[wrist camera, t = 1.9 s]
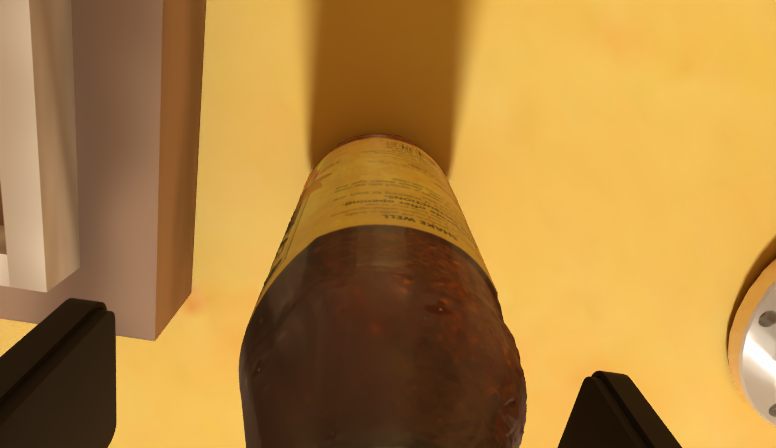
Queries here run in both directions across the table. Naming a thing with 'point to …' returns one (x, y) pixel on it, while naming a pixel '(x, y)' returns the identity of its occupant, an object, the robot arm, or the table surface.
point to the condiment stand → (99, 157)
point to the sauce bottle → (380, 317)
